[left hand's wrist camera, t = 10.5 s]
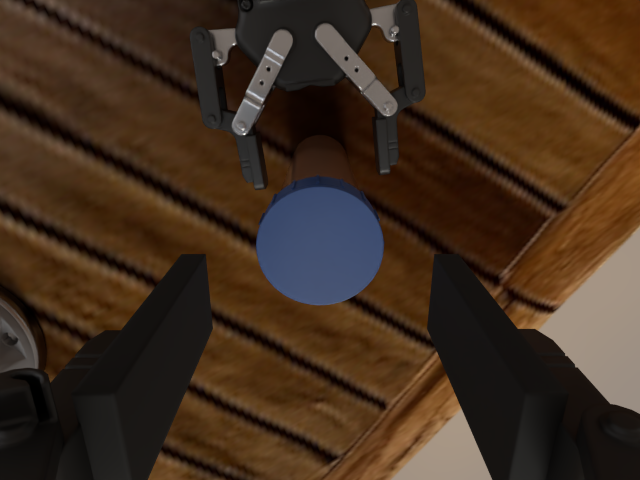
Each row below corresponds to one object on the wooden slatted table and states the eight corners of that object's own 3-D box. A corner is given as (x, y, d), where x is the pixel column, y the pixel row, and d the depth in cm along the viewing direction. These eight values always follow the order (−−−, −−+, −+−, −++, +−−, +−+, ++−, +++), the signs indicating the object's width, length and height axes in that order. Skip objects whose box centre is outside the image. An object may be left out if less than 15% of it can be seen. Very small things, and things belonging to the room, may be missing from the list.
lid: (337, 304, 21) (339, 326, 19) (240, 250, 20) (232, 268, 18) (401, 215, 19) (410, 229, 18) (299, 151, 18) (297, 159, 17)
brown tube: (328, 199, 38) (336, 311, 19) (282, 171, 37) (245, 261, 19) (358, 153, 36) (396, 228, 18) (310, 123, 35) (301, 169, 17)
